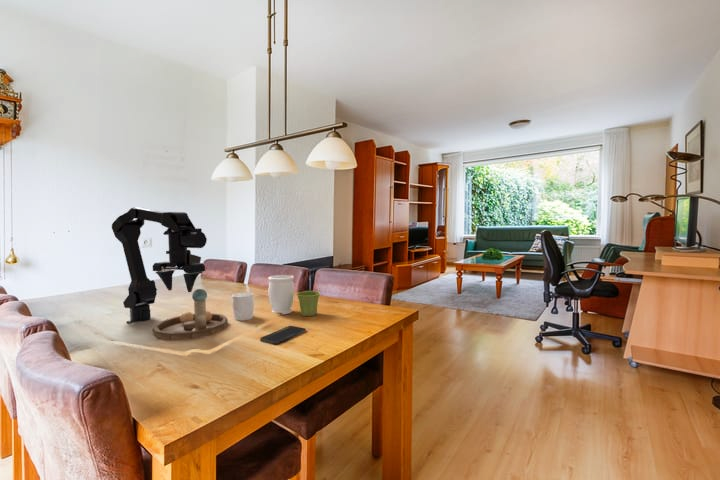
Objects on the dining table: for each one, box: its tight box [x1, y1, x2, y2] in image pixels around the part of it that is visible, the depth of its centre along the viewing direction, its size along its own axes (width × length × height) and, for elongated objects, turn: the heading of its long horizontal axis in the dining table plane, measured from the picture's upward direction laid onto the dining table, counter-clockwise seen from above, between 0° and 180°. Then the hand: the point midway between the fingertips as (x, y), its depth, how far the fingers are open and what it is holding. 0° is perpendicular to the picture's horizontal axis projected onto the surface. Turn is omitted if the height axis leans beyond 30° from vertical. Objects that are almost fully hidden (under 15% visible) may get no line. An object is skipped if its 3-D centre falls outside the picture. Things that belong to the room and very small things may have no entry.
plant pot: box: [296, 290, 321, 317], centre depth 136 cm, size 9×9×9 cm
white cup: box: [231, 291, 255, 321], centre depth 128 cm, size 8×8×10 cm
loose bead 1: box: [179, 311, 194, 324], centre depth 121 cm, size 4×4×4 cm
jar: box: [267, 274, 295, 316], centre depth 139 cm, size 11×10×15 cm
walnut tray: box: [152, 312, 229, 341], centre depth 116 cm, size 22×22×3 cm
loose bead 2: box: [206, 310, 212, 323], centre depth 122 cm, size 4×4×4 cm
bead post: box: [191, 288, 209, 331], centre depth 111 cm, size 5×5×15 cm
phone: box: [259, 325, 307, 346], centre depth 111 cm, size 8×1×15 cm
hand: (179, 291), depth 120 cm, fingers open, 9 cm apart
